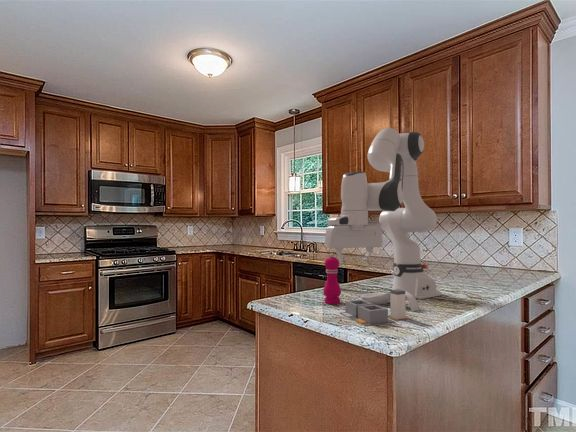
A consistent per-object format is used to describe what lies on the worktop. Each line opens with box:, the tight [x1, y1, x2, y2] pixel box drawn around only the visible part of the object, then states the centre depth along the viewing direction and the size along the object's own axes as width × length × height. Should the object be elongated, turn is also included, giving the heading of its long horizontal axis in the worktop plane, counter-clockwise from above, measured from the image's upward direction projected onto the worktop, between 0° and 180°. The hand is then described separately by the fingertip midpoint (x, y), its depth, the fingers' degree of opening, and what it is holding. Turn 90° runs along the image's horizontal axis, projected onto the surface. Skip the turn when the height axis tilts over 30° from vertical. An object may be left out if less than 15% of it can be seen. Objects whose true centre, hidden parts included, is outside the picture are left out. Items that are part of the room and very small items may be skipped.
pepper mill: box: [322, 252, 342, 305], centre depth 144 cm, size 7×7×20 cm
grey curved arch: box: [360, 290, 420, 312], centre depth 136 cm, size 24×12×7 cm, turn 39°
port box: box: [339, 299, 396, 327], centre depth 118 cm, size 11×16×5 cm
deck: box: [388, 314, 413, 322], centre depth 118 cm, size 7×7×1 cm
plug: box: [389, 289, 407, 319], centre depth 118 cm, size 3×3×9 cm
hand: (354, 261), depth 117 cm, fingers open, 8 cm apart
